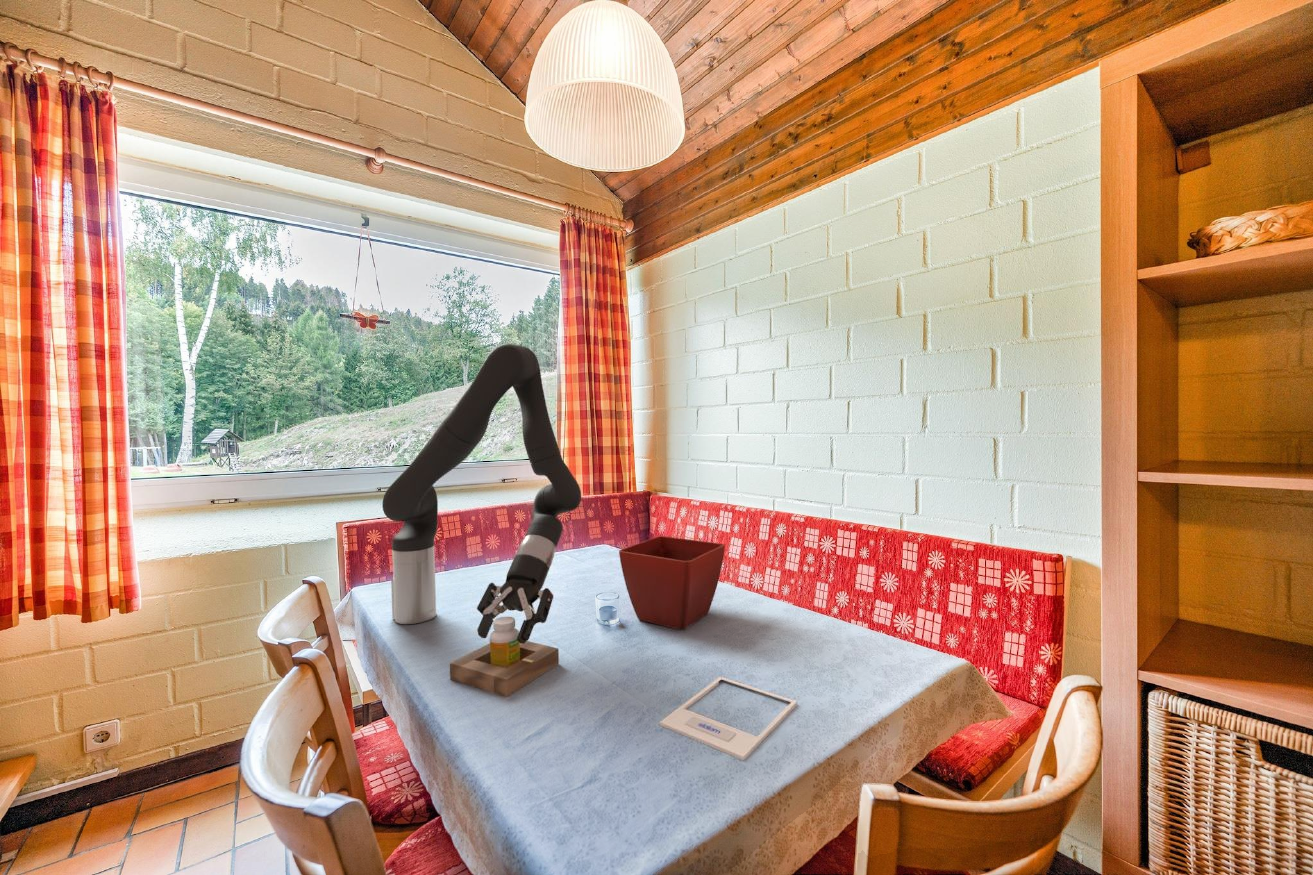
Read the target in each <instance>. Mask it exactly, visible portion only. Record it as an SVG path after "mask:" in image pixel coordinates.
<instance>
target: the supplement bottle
mask: <svg viewBox="0 0 1313 875" xmlns="http://www.w3.org/2000/svg"><path fill="white" fill-rule="evenodd" d="M492 626H493V627H492V628H493V631H492V632H491V633H490V635H489V643H490V656H491V665H494V666H498V667H502V668H505V669H506V668H508V667H510V666H512V665H513V664H515V663H517V662H519V661H520V642H519V641H518V640H517V637H518V634H519V631H520V630H519V629H517V628H516V618H515V617H513V616H501V617H497V618H494V619H493V623H492Z"/></svg>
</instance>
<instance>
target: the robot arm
mask: <svg viewBox="0 0 1313 875" xmlns="http://www.w3.org/2000/svg"><path fill="white" fill-rule="evenodd" d="M539 364H540V363H539V359H538V357H537V355H536V353H535V352H534V351H533V350H532V349H530V348H528V347H526V346H523V345H518V344H512V343H503V344H499V345H497V346H496V347H495V348H493V349H492V350H491V351H490V352H489V354H488V355H487V357H486V359H485V360H484V361H483V363H482V365H481V366H480V368H479V370H478V372H477V374H476V376H475V377H474V379H473V381H472V382H471V383H470V385H469V386H468V388H467V389H466V391H465V392H464V394H462V396H461V397H460V398H459V400H458V401H457V403H456V404H455V405H454V407H453V408H452V409H451V410H450V411H449V413H448V414H447V415H446V416H445V418H444V419H443V420H442V421H441V423H440V424H439V425H438V427H437V428H436V430H435V431H434V432H433V434H432V436H431V437H430V438H429V439H428V441H427V443H426V444H425V445H424V446H423V447H422V449H421V450H420V452H419V453H418V454H417V456H415V458H414V460H412V462H411V463H409V465H408V467H407V468H406V469H405V470H404V471H403V472H402V473H401V474H400V475H399V476H398V477H397V478H396V479H395V480H394V481H393V483H391V484H390V486H389V487H388V488H387V490H386V492H384V495H383V498H382V511H383V514H384V515H385V517H386V518H387V519H389V520H391V521H393V522H400V523H403V524H402V527H401V529H400V530H399V531H398V532H397V533H396V534H395V535H394V536H393V537H392V539H391V548H392V552H391V553H392V577H393V578H391V580H390V584H391V588H390V589H391V607H392V608H391V613H392V616H391V617H392V619H394V622H395V623H396V624H400V625H414V624H415V625H416V624H420V623H424V622H427V621H430V620H432V619H434V618H435V617H436V616H437V596H436V595H437V594H436V593H437V591H436V589H437V588H436V564H435V561H436V560H435V538H436V536H437V532H438V517H439V516H438V512H439V510H438V506H439V505H438V504H439V503H438V494H437V492H436V488H435V487H434V484H436V483H437V481H439V480H440V479H441V478H443V477H444V476H445V475H447V474H448V473H450V472H451V471H452V470H453V469H455V468H457V467H458V466H459V465H460V464H461V463H463V462H464V461H465V460H466V459H467V458H468V457H469V456H470V455H471V454H472V452H473V451H474V450H475V448H477V446H478V444H480V442H481V440H482V439H483V437H484V436H485V434H486V431H487V429H488V426H489V422H490V419H491V415H492V412H493V410H494V409H495V407H496V405H497V404H498V402H499V401H500V400H501V399H502V398H503V397H504V395H505V394H506V393H507V392H509V391H510V389H511V388H513V390H514V392H515V395H516V396H517V400H518V402H519V404H520V410H521V421H522V423H521V424H522V426H521V427H522V438H523V445H524V447H525V451H526V454H527V458H528V461H529V463H530V466H531V469H532V471H533V473H534V474H535V476H541V477H542V476H545V477H546V478H547V479H548V481H549V482H550V483H551V484H547V485H544V486H543V487H541V488H539V491H537V494H536V495H535V497H534V501H533V504H532V505H533V506H532V512H531V513H532V514H531V520H530V521H531V522H530V524H529V526H528V529H527V530H526V533H525V536H524V538H523V539H522V541H521V543H520V545H519V546H518V548H517V550H516V553H515V555H514V557H513V560H512V562H511V564H510V567H509V569H508V571H507V574H506V578H505V582H504V583H503V584H502V585H501V586H500V585H496V584H495V583H493V582H490V583H489V584H488V585H487V587H486V589H485V591H484V593H483V595H482V597H481V599H480V601H479V603H478V605H477V607H476V610H477V611H478V612H479V613H480V614H481V615H482V618H481V620H480V623H479V624H478V627H477V635H478V637H480V638H481V639H486V638H487V637H488V635H489V632H490V630H491V627H492V626H493V621H494V620H495V619H496V617H498V616H499V615H500V614H504V613H505V612H506V611H517V612H520V613H521V612H523V611H524V612H523V613H524V615H525V616H524V617H525V619H524V620H523V621H522V624H521V627H520V629H519V630H518V631H519V634H518V637H517V640H518V641H519V642H520V643H522V644H525V642H526V641H529V639H530V637H531V635H532V632H533V629H534V627H535V625H536V624H538V623H541V624H545V623H546V622H547V619H548V617H549V612H550V610H551V606H552V603H553V600H554V594H553V593H552V591H551V590H550V589H549V588H548V587H546V588H544V589H543V587H544V584H545V582H546V578H547V577H548V573H549V571H550V568H551V566H552V563H553V560H554V557H555V554H556V549H557V547H558V544H559V542H560V539H561V537H562V533H563V526H564V525H563V524H562V522H561V521H560V519H558V518H557V517H558V515H561V514H563V513H568V512H572V511H575V510H576V509H578V508H579V507H580V504H581V502H582V501H581V500H582V492H581V487H580V485H579V483H578V481H577V480H576V478H575V477H574V475H573V474H572V472H571V470H570V468H569V467H568V466H567V465H566V463H565V461H564V460H563V457H562V454H561V450H560V447H559V444H558V442H557V439H556V435H555V433H554V430H553V426H552V423H551V419H550V415H549V412H548V411H549V410H548V408H547V402H546V398H545V392H544V386H543V380H542V374H541V369H540V368H541V367H540V365H539ZM538 599H539V604H538V605H537V609H536V611H535V606H534V603H535V602H536V601H537V600H538ZM501 603H502V605H500V604H501Z"/></svg>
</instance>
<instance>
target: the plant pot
mask: <svg viewBox="0 0 1313 875" xmlns="http://www.w3.org/2000/svg"><path fill="white" fill-rule="evenodd" d="M725 550H726V544H724V543H720V542H719V543H717V542H710V541H704V540H703V541H702V540H697V539H695V540H694V539H690V538H688V539H687V538H681V537H673V536H665V535H660V536H655V537H653V538H650V539H647V540H644V541H642V542H639V543H635V544H632V545H630V546H627V547H625V548H624V547H623V548H621V549H619V550H618V556H619V561H620V568H621V571H622V574H623V575H622V576H623V580H624V583H625V587H626V590H627V594H628V597H629V599H630V603H631V604H632V608H633V611H634V613H635V615H636V617H637V620H640V621H643V622H647V623H650V624H656V625H660V626H665V627H667V628H672V629H676V630H681V631H682V630H685V629H687V628H689V627H690V626H692V625H693V624H694V623H696V622H697V621H699V620H700V619H702V618H703V617H705V616H707V615H708V613H709V612H710V609H711V607H712V604H713V601H714V597H715V594H716V590H717V587H718V584H719V581H720V576H721V571H722V568H723V567H722V566H723V562H724V556H725Z"/></svg>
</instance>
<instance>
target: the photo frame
mask: <svg viewBox="0 0 1313 875" xmlns="http://www.w3.org/2000/svg"><path fill="white" fill-rule="evenodd" d="M720 681H722V682H723V681H724V682H726V683H730V684H733V685H735V686H739V687H740V688H741V687H742V688H745V689H748V690H750V691H751V690H752V691H754V692H757V693H760V694H763V695H766V696H768V697H772V698H775V699H778V700H782V701H785V702H788V703H789V704H788V705H787V706H786V707H785V708H784V709H783V710H781V712H780V713H779V714H778V715H777V716H776V717H775V718H774V719H773V720H772V721H771V722H770V723H769V724H768V726H766V728H764V730H762V731H761V732H760V734H758V735H757V736H756V735H753V734H751V733H750V732H746V731H743V730H740V729H738V728H735V727H733V726H730V725H727V724H726V723H725V724H724V723H722V722H719V721H718V720H714V719H711V718H709V717H706V716H704V715H700V714H699V713H696V712H693V711H691V710H688V708H689V707H691V706H692V705H693V704H695V703H696V702H697V701H698V700H700V699H701V698H702V697H703V696H705V695H706V694H708V693H709V692H710V691H711V690H713V689H714V688H716V687H717V686H718V685H719V684H720ZM797 706H798V701H796V700H794V699H790V698H787V697H784V696H781V695H778V694H775V693H773V692H769V691H766V690H762V689H761V688H760V689H759V688H756V687H754V686H750V685H747V684H744V683H741V682H739V681H738V682H737V681H735V680H731V679H728V678H725V677H722V676H719V677H718V678H717V679H715V680H713V681H712V682H711V683H709V685H707V686H705V688H703V689H702V690H700V691H699V692H698V693H697V694H695V695H694V696H693V697H691V698H690V699H688V700H687V701H685V702H684V703H683V704H682V705H680V706H679V707H677V708H676V709H675V710H674V711H672V712H671V713H670V714H668V715H666V716H665V717H664V718H662V720H660V721H659V726H660V727H661V726H662V727H663V728H666V729H668V730H670V731H673V732H676V733H677V734H680V735H683V736H685V737H687V738H689V739H692V740H694V741H696V742H699V743H700V744H701V743H702V744H703V745H706V746H707V747H708V746H709V747H711V748H713V749H716V750H718V751H720V752H722V753H725V754H727V755H730V756H731V757H735V758H737V759H738V760H742V761H745V760H746V758H748V757H749V755H751V754H752V753H753V751H754V750H755V749H756V748H758V746H759V745H760V744H761V743H762V742H763V741H764V740H765V739H766V738H767V736H768V735H769V734H771V732H772V731H774V729H775V728H776V727H777V726H778V725H779V724H780V723H781V722H782V721H783V720H784V719H785V718H786V717H787V716H788V715H789V713H790V712H792V711H793V709H794V708H795V707H797Z"/></svg>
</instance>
